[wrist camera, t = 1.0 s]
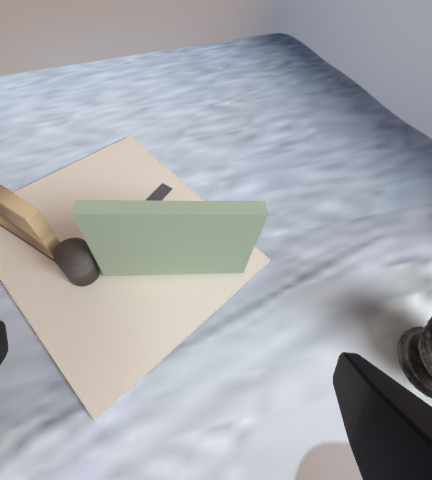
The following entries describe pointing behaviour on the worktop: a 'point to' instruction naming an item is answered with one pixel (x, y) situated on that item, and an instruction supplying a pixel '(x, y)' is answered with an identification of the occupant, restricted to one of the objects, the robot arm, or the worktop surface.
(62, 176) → the card
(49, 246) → the tan dark-tipped bar
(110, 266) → the fence panel
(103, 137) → the worktop surface
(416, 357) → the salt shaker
